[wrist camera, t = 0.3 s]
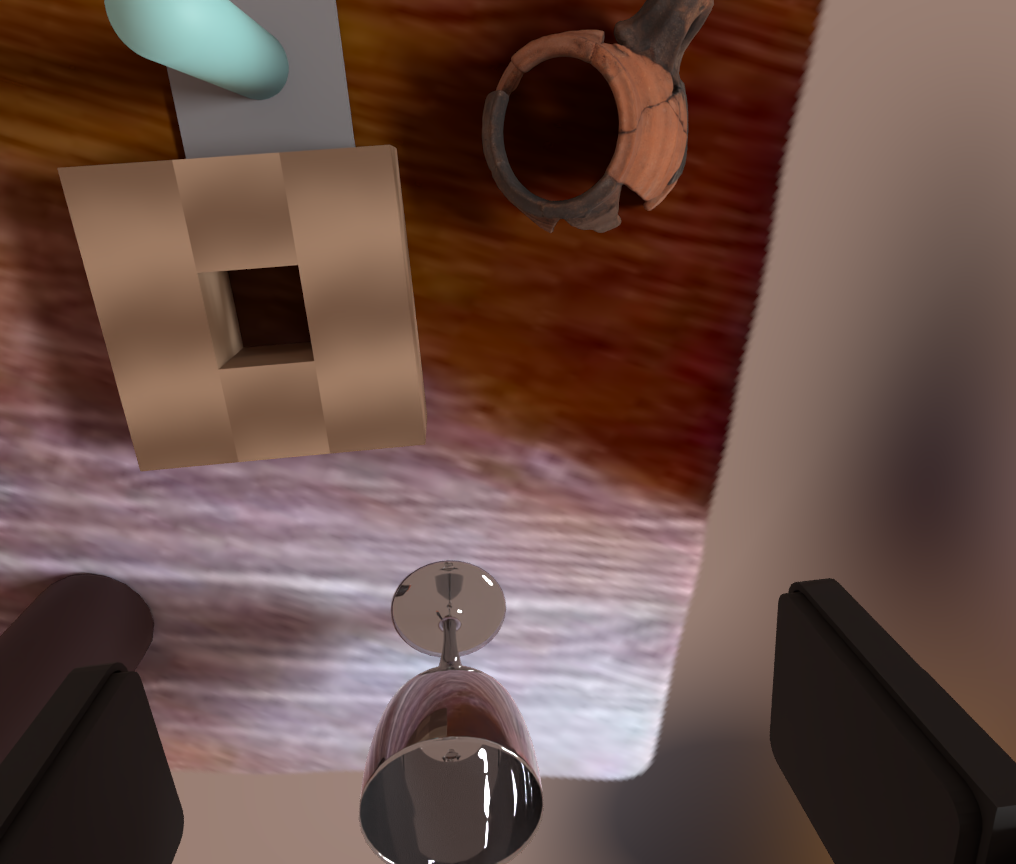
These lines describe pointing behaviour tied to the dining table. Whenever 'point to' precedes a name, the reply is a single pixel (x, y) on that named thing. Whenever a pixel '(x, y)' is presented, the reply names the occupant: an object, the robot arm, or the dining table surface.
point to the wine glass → (450, 736)
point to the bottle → (66, 644)
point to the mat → (289, 114)
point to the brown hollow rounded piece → (641, 108)
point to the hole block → (212, 314)
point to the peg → (204, 42)
